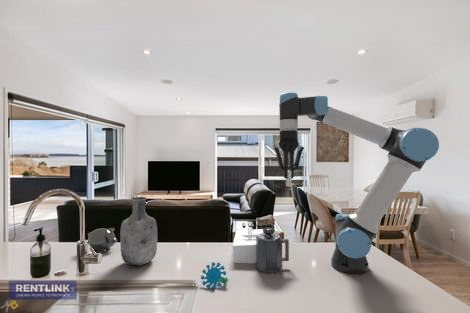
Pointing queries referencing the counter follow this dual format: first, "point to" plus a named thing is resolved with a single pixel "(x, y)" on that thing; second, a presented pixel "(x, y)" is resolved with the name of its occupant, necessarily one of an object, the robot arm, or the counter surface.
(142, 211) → the vase
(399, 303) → the counter surface
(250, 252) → the tissue box
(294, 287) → the counter surface
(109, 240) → the piggy bank
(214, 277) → the gear
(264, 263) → the carafe
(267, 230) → the plunger
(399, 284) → the counter surface
